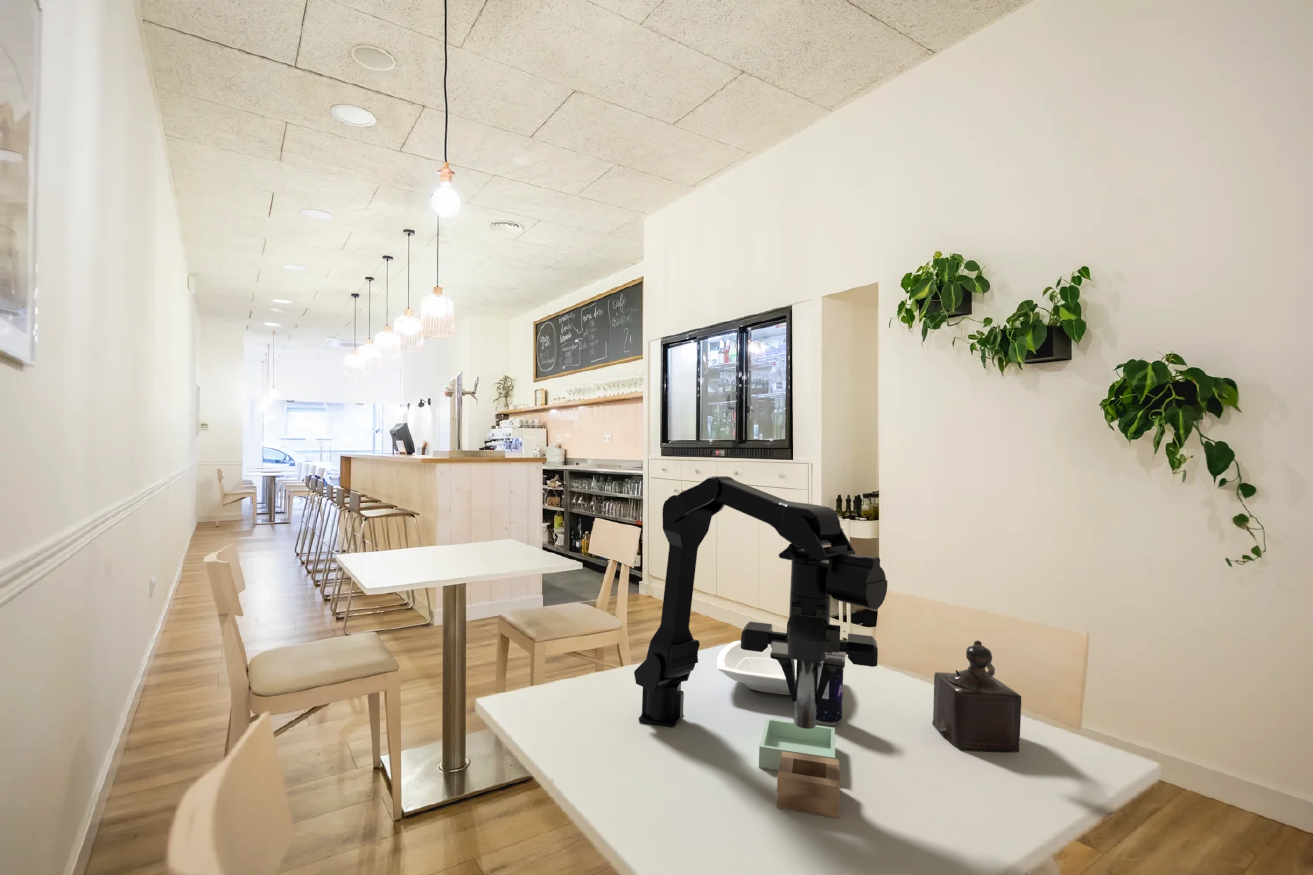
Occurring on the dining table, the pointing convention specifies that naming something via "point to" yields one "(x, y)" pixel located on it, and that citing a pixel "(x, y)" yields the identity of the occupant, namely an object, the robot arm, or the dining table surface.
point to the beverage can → (831, 699)
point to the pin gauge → (806, 693)
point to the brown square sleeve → (808, 784)
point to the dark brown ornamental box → (977, 706)
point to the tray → (794, 742)
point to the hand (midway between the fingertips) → (805, 702)
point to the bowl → (753, 668)
